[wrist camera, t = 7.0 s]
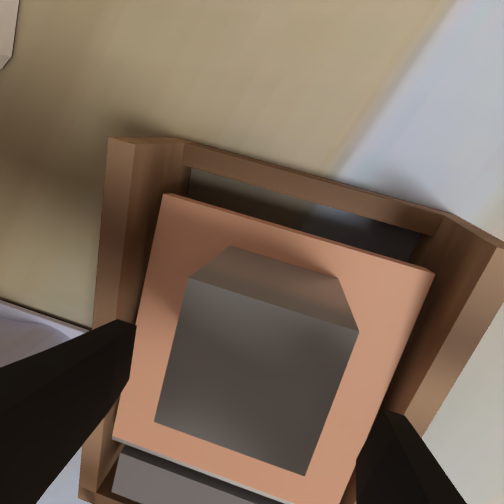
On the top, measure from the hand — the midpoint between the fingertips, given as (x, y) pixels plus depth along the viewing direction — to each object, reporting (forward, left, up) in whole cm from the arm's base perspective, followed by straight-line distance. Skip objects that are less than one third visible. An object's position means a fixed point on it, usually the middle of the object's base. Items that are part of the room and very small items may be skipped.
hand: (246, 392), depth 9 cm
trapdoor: (0, -5, -6) cm, 8 cm away
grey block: (0, 0, -5) cm, 5 cm away
